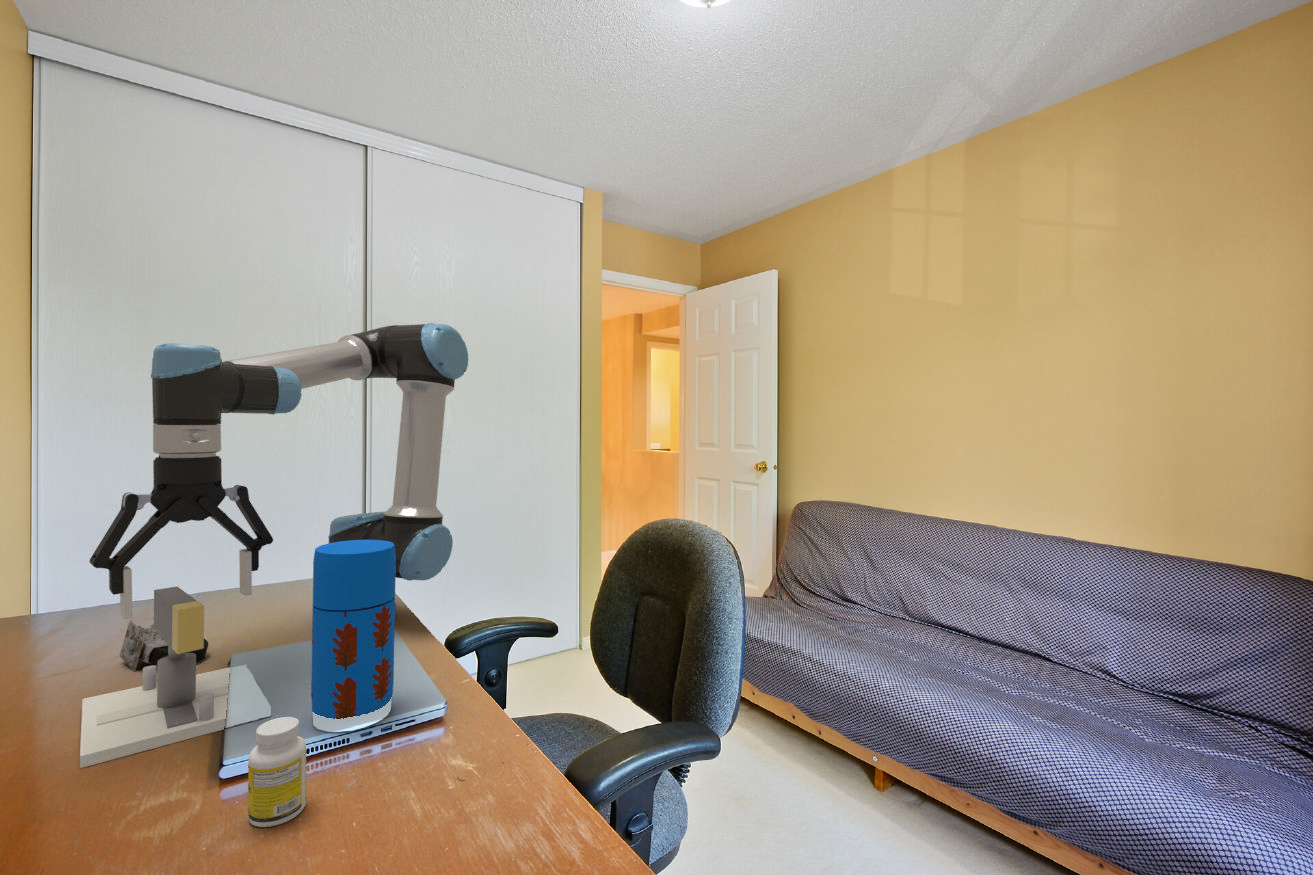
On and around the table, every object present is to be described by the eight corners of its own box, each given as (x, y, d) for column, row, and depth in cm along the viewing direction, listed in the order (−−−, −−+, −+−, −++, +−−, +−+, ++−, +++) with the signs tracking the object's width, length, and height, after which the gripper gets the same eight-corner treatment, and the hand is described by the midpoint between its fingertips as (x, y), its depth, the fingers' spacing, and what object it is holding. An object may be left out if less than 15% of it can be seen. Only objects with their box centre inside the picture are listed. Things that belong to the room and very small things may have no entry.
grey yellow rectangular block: (153, 646, 90) (153, 589, 90) (177, 641, 92) (177, 585, 92) (177, 672, 81) (178, 609, 81) (203, 666, 83) (204, 605, 83)
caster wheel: (209, 673, 106) (141, 685, 97) (181, 647, 111) (114, 656, 103) (220, 637, 106) (153, 646, 97) (192, 613, 112) (126, 619, 103)
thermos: (408, 705, 91) (411, 543, 90) (351, 739, 80) (354, 557, 80) (353, 693, 94) (356, 537, 94) (292, 724, 84) (295, 549, 84)
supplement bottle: (265, 797, 68) (266, 713, 68) (315, 796, 68) (316, 712, 68) (236, 830, 62) (237, 738, 62) (290, 828, 63) (291, 737, 63)
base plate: (245, 672, 101) (246, 625, 101) (271, 716, 86) (272, 661, 86) (82, 708, 87) (82, 654, 87) (79, 768, 72) (80, 703, 72)
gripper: (68, 461, 71) (71, 635, 72) (296, 453, 90) (297, 590, 91) (58, 457, 76) (61, 620, 76) (277, 450, 95) (278, 580, 96)
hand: (189, 604), depth 84 cm, fingers open, 13 cm apart
